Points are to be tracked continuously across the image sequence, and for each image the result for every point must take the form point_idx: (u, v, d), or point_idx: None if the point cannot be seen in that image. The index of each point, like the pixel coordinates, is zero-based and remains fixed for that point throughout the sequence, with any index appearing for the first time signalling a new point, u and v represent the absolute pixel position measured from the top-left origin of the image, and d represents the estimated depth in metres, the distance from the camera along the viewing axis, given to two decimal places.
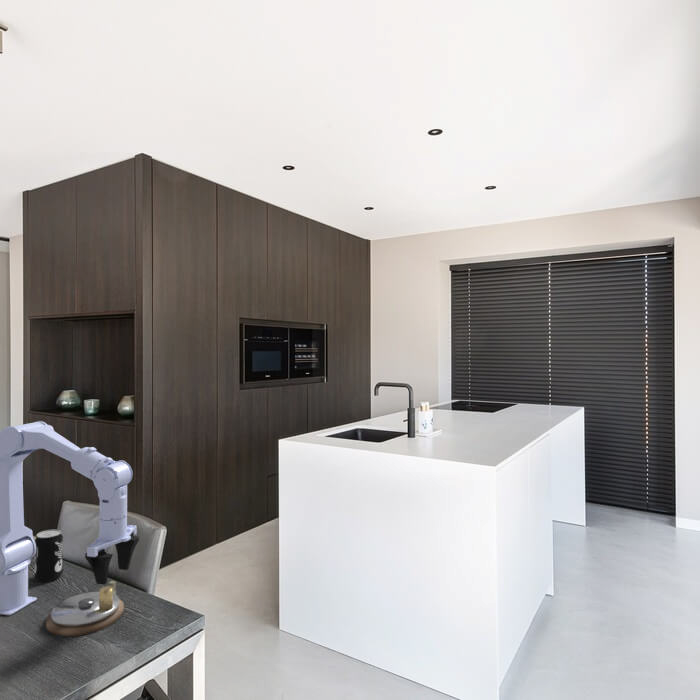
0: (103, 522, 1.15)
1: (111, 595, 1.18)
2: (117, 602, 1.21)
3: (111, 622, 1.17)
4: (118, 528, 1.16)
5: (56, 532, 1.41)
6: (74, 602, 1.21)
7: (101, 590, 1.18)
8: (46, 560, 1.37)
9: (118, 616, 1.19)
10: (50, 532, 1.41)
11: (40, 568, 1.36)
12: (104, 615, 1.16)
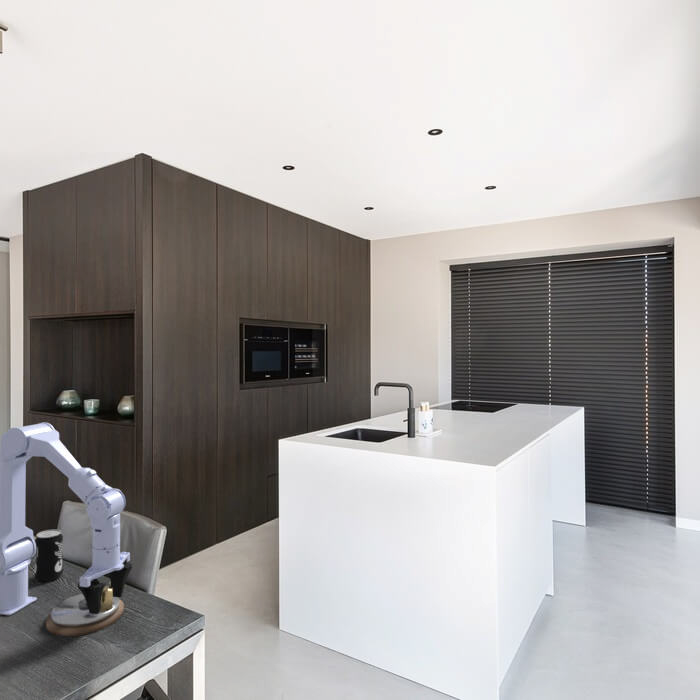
0: (96, 551, 1.16)
1: (111, 595, 1.18)
2: (117, 602, 1.21)
3: (111, 622, 1.17)
4: (111, 557, 1.17)
5: (56, 532, 1.41)
6: (74, 602, 1.21)
7: None
8: (46, 559, 1.37)
9: (118, 616, 1.19)
10: (50, 532, 1.41)
11: (40, 568, 1.36)
12: (104, 615, 1.16)
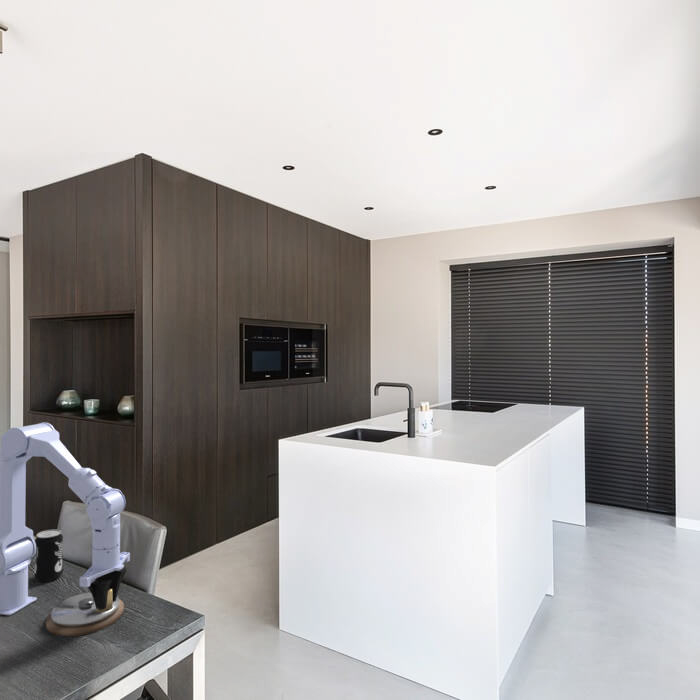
0: (96, 551, 1.16)
1: (111, 595, 1.18)
2: (117, 602, 1.21)
3: (111, 622, 1.17)
4: (111, 557, 1.17)
5: (56, 532, 1.41)
6: (74, 602, 1.21)
7: None
8: (46, 559, 1.37)
9: (118, 616, 1.19)
10: (50, 532, 1.41)
11: (40, 568, 1.36)
12: (104, 615, 1.16)
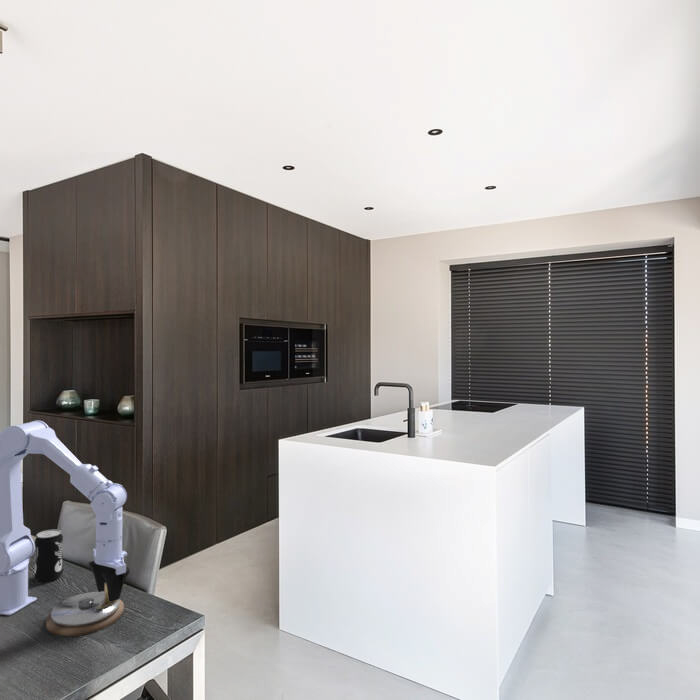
0: (112, 543, 1.21)
1: None
2: None
3: (111, 622, 1.17)
4: (121, 545, 1.24)
5: (56, 532, 1.41)
6: (67, 607, 1.19)
7: None
8: (46, 560, 1.37)
9: (118, 616, 1.19)
10: (50, 532, 1.41)
11: (40, 568, 1.36)
12: (117, 605, 1.21)
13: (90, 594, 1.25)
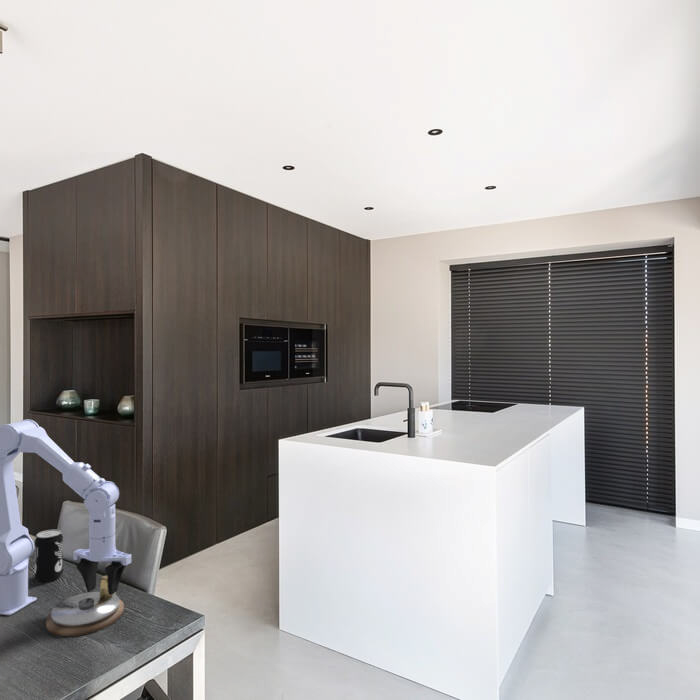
0: (111, 538, 1.24)
1: None
2: None
3: (111, 622, 1.17)
4: None
5: (56, 532, 1.41)
6: (68, 612, 1.17)
7: (107, 579, 1.23)
8: (46, 559, 1.37)
9: (118, 616, 1.19)
10: (50, 532, 1.41)
11: (40, 568, 1.36)
12: None
13: (73, 598, 1.23)
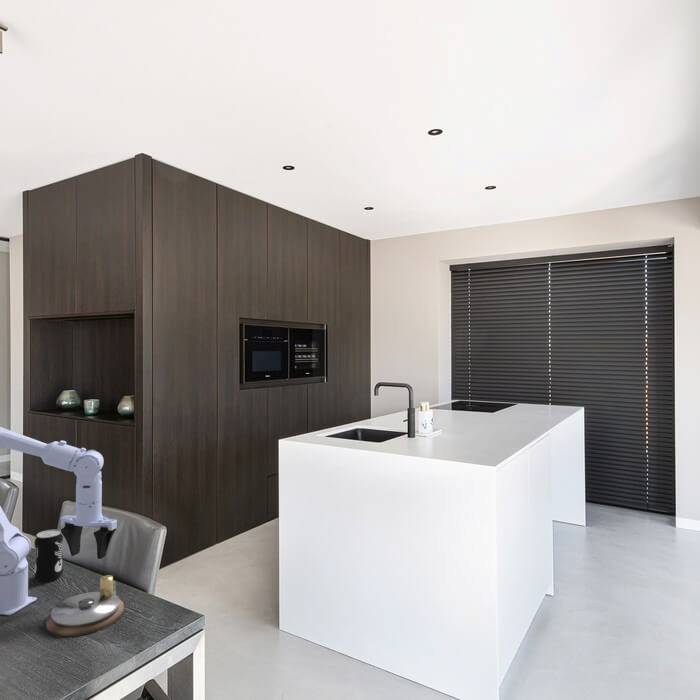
0: (97, 504, 1.28)
1: None
2: None
3: (111, 622, 1.17)
4: None
5: (56, 532, 1.41)
6: (68, 612, 1.17)
7: (107, 579, 1.23)
8: (46, 560, 1.37)
9: (118, 616, 1.19)
10: (50, 532, 1.41)
11: (40, 568, 1.36)
12: None
13: (73, 598, 1.23)
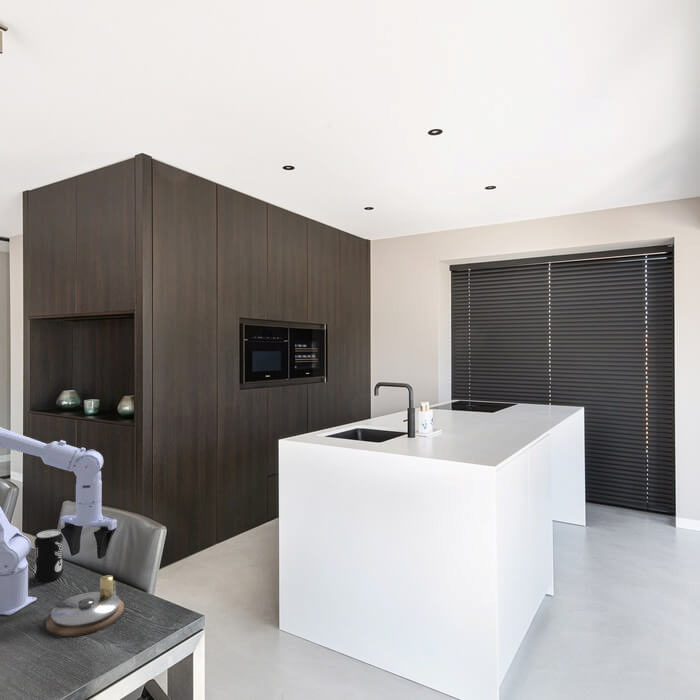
0: (97, 504, 1.28)
1: None
2: None
3: (111, 622, 1.17)
4: None
5: (56, 532, 1.41)
6: (68, 612, 1.17)
7: (107, 579, 1.23)
8: (46, 560, 1.37)
9: (118, 616, 1.19)
10: (50, 532, 1.41)
11: (40, 568, 1.36)
12: None
13: (73, 598, 1.23)
